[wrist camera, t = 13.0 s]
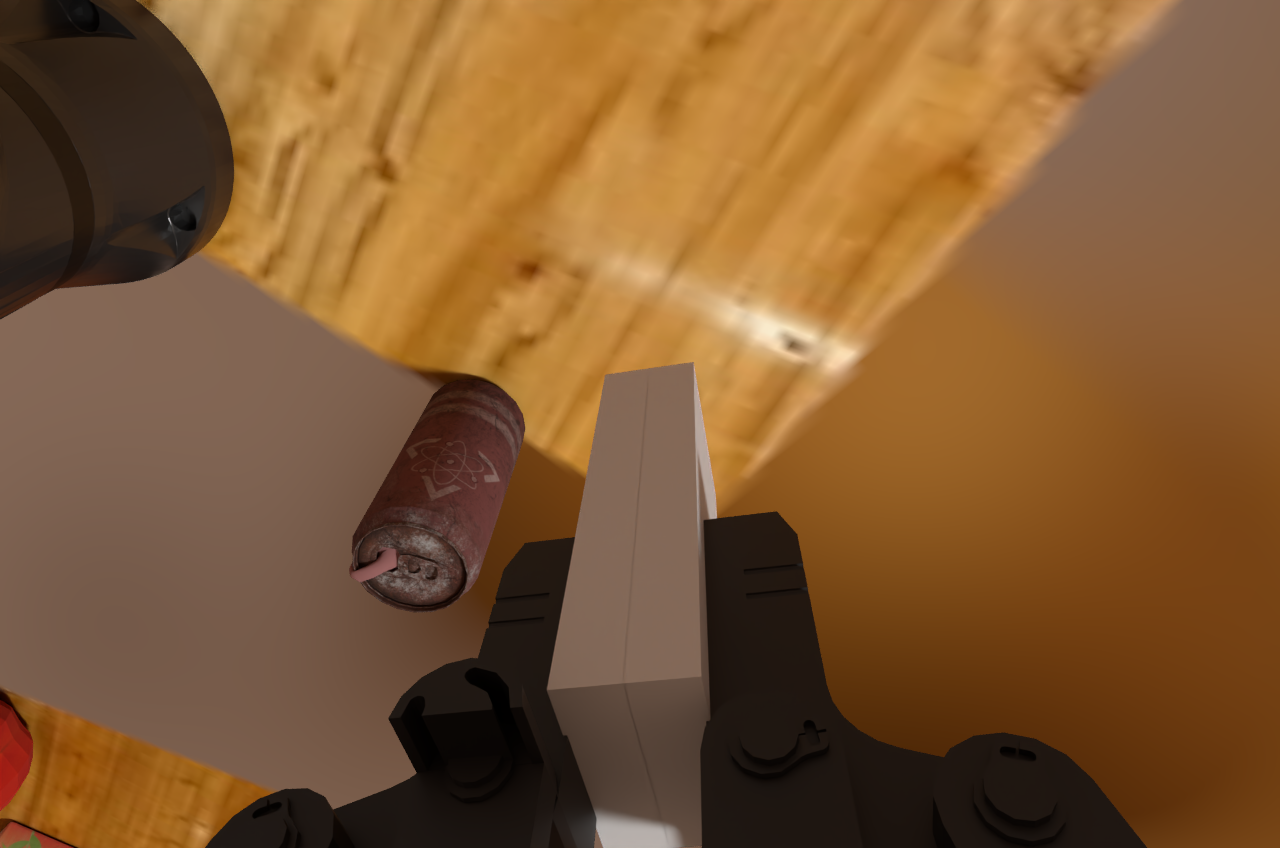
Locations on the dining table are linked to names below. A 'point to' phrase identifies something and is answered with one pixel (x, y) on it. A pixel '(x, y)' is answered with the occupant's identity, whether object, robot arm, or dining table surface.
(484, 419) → the can
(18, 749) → the tomato
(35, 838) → the cracker box
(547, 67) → the dining table surface
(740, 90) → the dining table surface
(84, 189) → the robot arm
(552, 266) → the dining table surface
